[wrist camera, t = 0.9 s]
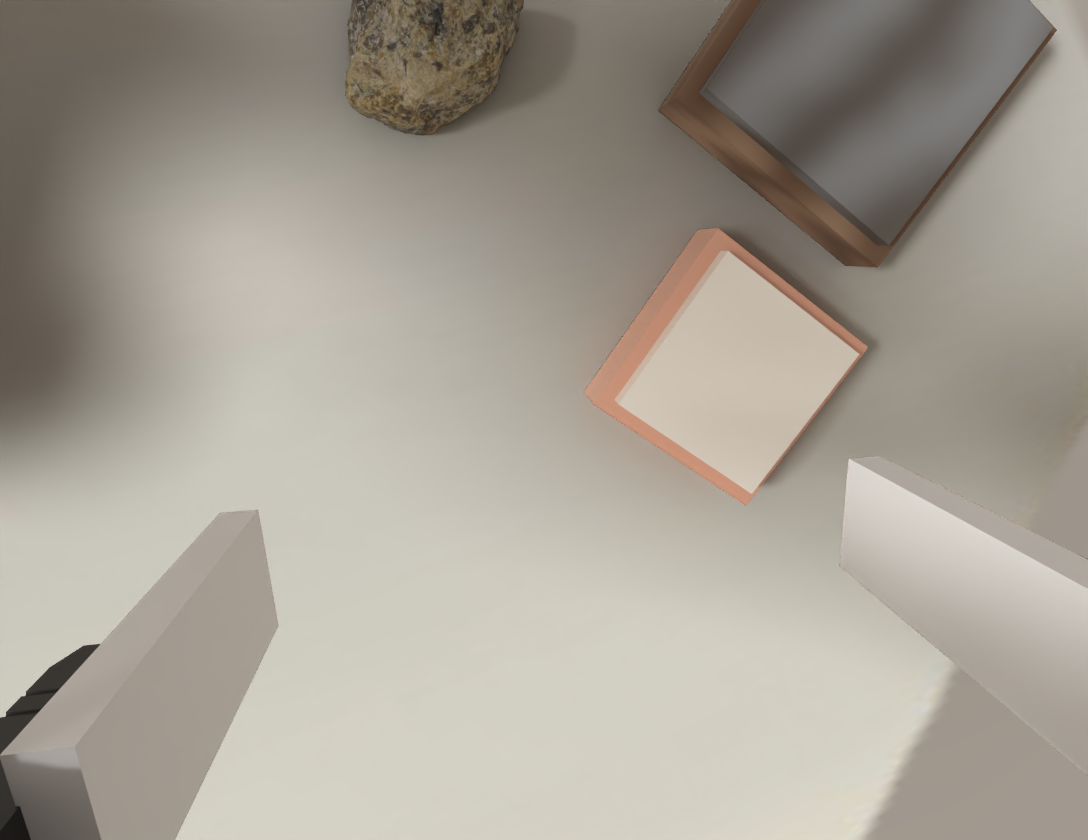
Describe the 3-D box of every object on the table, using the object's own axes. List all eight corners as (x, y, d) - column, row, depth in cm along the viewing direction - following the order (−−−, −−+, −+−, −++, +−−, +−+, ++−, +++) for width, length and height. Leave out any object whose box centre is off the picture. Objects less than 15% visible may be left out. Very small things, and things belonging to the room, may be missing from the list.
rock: (489, 159, 33) (493, 145, 29) (336, 114, 32) (316, 93, 28) (522, 10, 32) (531, -27, 28) (363, -43, 31) (346, -91, 26)
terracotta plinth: (583, 392, 37) (597, 408, 33) (697, 229, 36) (726, 227, 32) (725, 487, 40) (753, 512, 36) (837, 339, 38) (879, 350, 34)
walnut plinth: (658, 110, 34) (683, 92, 30) (826, -141, 32) (876, -195, 28) (845, 265, 37) (889, 267, 33) (1008, 48, 35) (1075, 23, 31)
